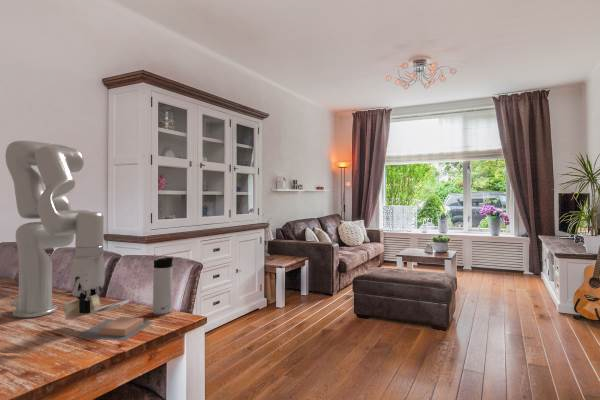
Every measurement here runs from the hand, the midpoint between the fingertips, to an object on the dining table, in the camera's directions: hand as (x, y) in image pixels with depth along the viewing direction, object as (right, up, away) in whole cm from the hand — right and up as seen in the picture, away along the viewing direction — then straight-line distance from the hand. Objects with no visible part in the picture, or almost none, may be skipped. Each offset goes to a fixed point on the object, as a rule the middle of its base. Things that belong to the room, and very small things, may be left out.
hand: (88, 310), depth 116 cm
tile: (+7, -4, -1) cm, 8 cm away
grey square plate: (+9, -6, -1) cm, 11 cm away
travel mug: (+17, -6, +16) cm, 24 cm away
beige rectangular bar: (+2, 0, 0) cm, 2 cm away
